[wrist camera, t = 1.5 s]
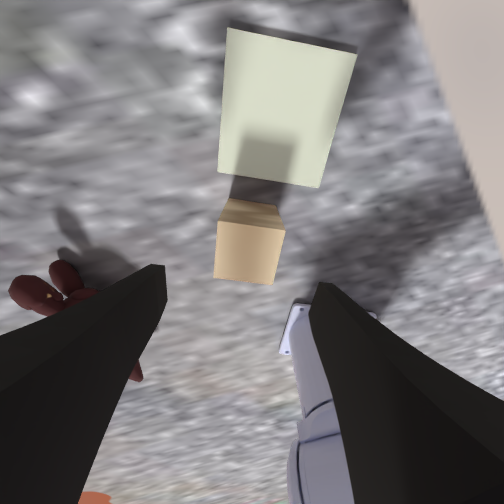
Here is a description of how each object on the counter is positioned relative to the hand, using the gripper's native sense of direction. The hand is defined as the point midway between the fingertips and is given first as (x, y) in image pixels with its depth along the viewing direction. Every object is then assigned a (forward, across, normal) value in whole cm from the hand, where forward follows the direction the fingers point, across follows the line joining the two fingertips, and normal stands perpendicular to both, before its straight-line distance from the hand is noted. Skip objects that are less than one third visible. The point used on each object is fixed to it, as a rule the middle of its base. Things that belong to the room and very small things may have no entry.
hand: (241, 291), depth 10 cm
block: (+10, 0, 0) cm, 10 cm away
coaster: (+10, -1, -8) cm, 13 cm away
